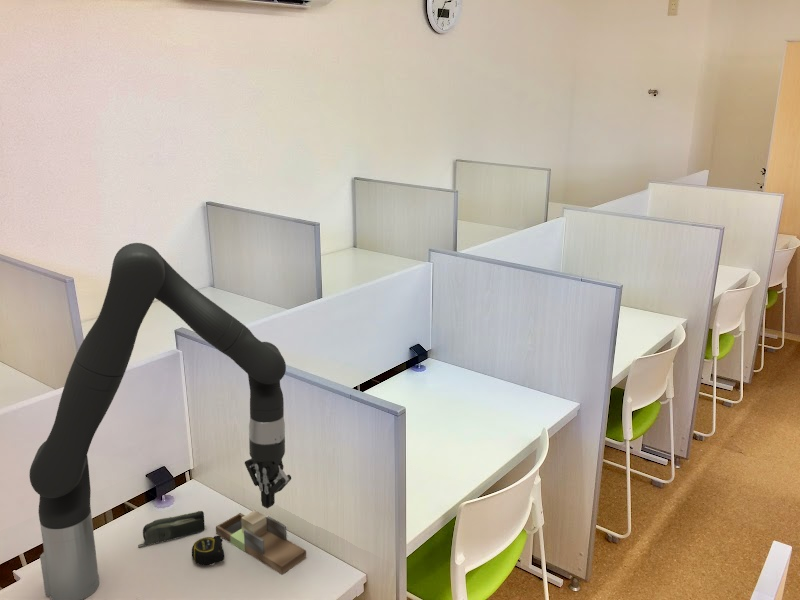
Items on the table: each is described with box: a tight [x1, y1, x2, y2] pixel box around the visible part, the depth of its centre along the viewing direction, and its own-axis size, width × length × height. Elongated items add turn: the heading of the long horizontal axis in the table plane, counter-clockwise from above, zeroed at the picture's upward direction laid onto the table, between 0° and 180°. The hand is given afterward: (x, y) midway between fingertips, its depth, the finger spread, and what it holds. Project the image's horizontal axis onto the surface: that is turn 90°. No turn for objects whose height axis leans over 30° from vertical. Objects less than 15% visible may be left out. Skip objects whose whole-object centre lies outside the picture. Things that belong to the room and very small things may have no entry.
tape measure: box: [191, 535, 225, 567], centre depth 150 cm, size 7×7×4 cm
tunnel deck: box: [215, 512, 307, 575], centre depth 155 cm, size 22×7×6 cm, turn 52°
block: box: [241, 509, 268, 537], centre depth 156 cm, size 4×4×4 cm
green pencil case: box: [137, 510, 205, 548], centre depth 157 cm, size 5×3×15 cm
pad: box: [230, 529, 245, 552], centre depth 157 cm, size 5×7×2 cm
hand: (267, 505), depth 150 cm, fingers closed
